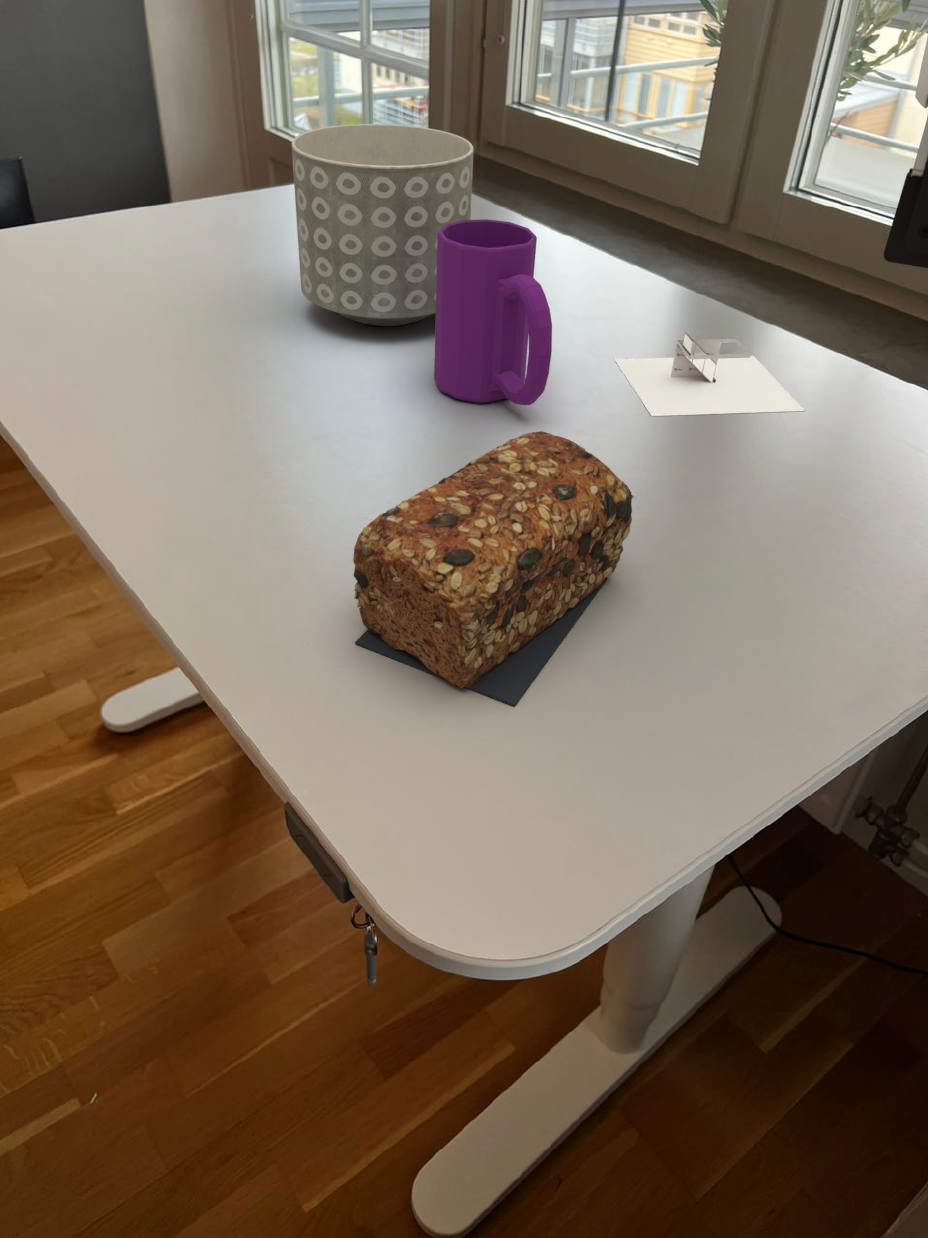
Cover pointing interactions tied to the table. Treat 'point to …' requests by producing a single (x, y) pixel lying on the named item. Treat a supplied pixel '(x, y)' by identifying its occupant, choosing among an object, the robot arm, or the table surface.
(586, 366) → the table surface
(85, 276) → the table surface
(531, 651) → the corner pad
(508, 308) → the mug
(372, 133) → the planter
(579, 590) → the bread
